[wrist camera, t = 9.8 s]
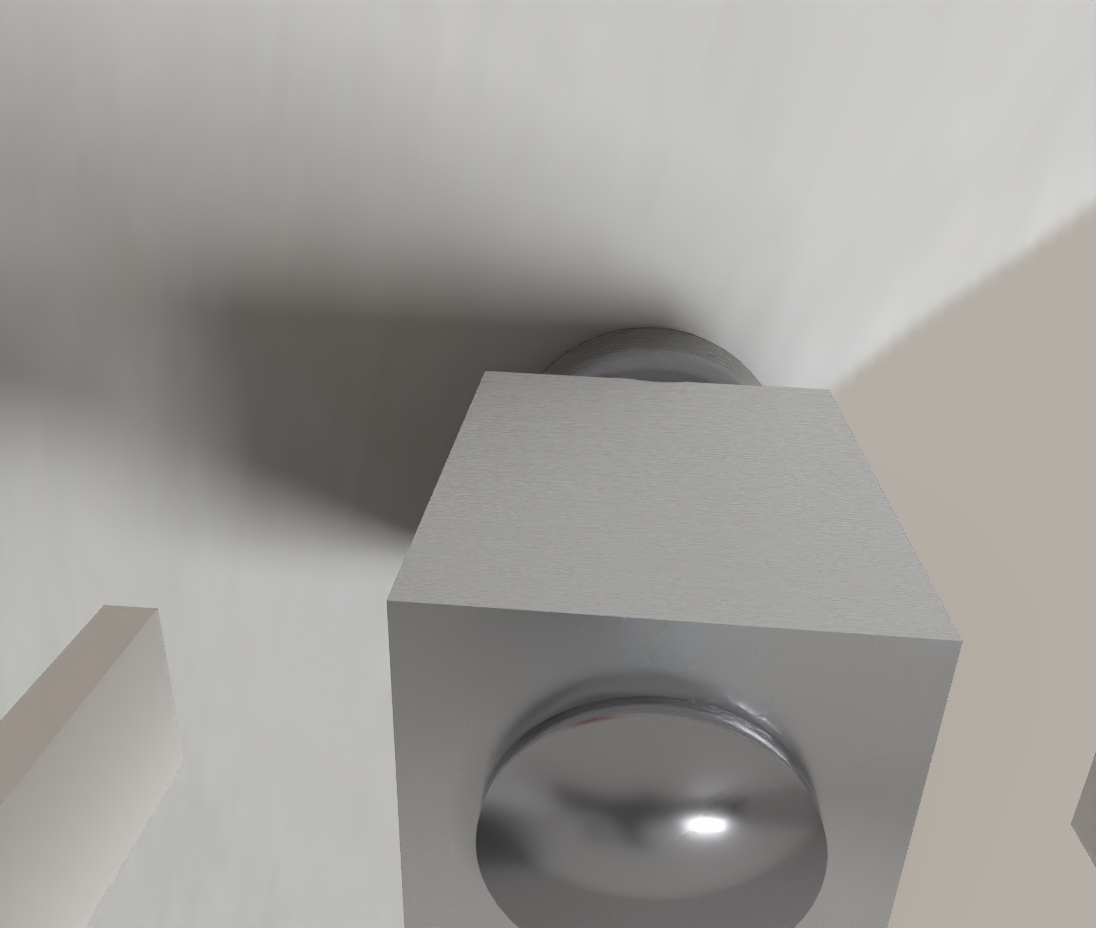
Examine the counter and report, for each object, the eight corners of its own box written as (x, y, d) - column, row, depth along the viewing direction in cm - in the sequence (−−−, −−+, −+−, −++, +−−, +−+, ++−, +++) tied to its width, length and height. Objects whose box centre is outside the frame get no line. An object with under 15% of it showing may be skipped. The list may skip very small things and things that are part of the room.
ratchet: (505, 971, 28) (470, 1225, 22) (513, 320, 19) (460, 451, 13) (702, 990, 27) (721, 1253, 22) (799, 334, 19) (873, 475, 13)
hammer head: (485, 371, 17) (376, 622, 10) (829, 389, 16) (974, 665, 9) (485, 648, 19) (400, 1004, 12) (782, 670, 19) (869, 1051, 12)
